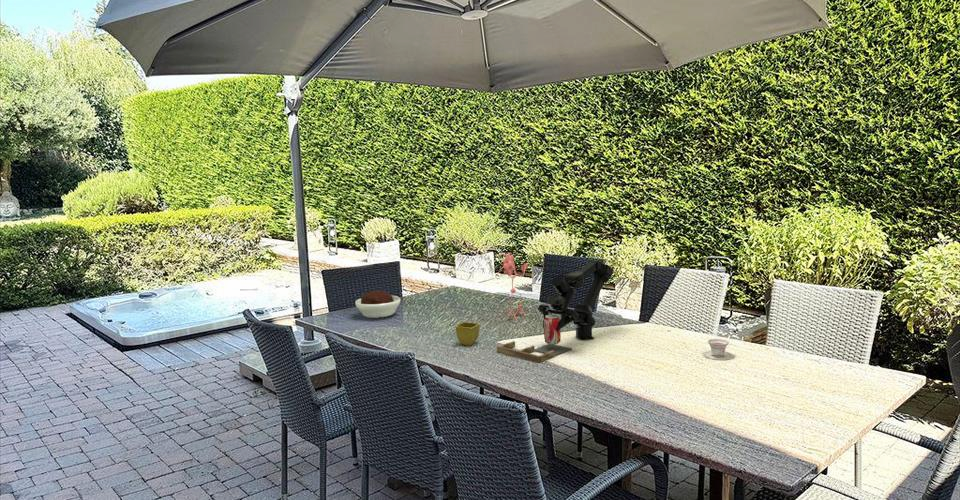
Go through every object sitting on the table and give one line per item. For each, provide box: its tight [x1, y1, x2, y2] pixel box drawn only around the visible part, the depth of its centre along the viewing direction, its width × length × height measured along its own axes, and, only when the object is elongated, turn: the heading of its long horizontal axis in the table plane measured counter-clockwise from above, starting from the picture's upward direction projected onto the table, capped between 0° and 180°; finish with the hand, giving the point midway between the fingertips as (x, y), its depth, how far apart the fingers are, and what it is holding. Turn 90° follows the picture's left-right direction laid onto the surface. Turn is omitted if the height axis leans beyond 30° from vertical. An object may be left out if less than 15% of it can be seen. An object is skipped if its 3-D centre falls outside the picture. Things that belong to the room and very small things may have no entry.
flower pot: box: [454, 321, 481, 346], centre depth 272 cm, size 9×9×9 cm
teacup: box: [701, 338, 735, 361], centre depth 241 cm, size 12×12×6 cm
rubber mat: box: [534, 343, 573, 357], centre depth 257 cm, size 12×12×1 cm
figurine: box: [494, 252, 532, 321], centre depth 317 cm, size 15×26×35 cm, turn 146°
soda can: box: [543, 314, 562, 345], centre depth 256 cm, size 7×7×12 cm
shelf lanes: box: [496, 340, 556, 364], centre depth 253 cm, size 11×24×2 cm, turn 45°
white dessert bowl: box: [355, 290, 401, 319], centre depth 332 cm, size 25×25×15 cm
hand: (550, 329), depth 255 cm, fingers closed on soda can, 7 cm apart
